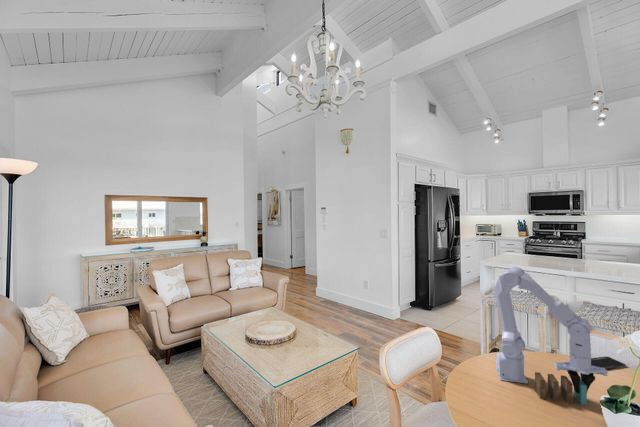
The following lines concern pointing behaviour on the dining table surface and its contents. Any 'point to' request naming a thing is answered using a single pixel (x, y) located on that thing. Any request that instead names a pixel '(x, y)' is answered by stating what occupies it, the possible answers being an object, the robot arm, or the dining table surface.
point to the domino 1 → (540, 385)
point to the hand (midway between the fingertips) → (580, 391)
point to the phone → (607, 363)
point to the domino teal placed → (581, 393)
